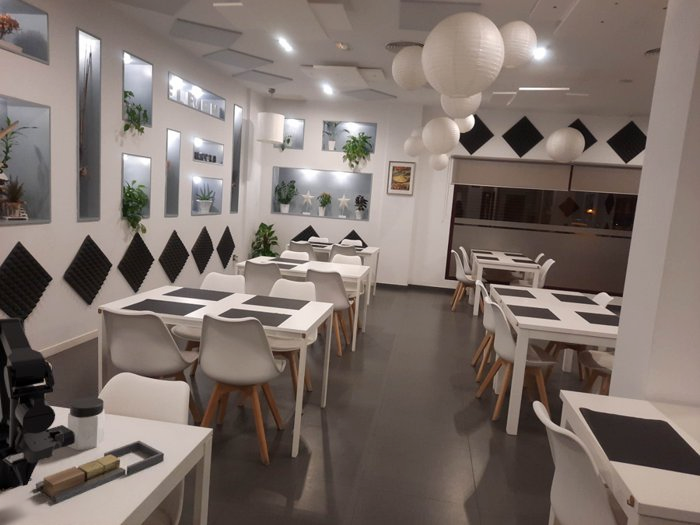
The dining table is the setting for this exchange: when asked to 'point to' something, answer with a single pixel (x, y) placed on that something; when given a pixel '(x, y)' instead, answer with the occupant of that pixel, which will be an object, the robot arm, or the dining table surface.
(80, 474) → the tan wooden brick
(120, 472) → the rail bed
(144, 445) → the tray
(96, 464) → the olive wooden block
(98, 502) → the dining table surface
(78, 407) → the jar
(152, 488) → the dining table surface
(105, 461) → the tan wooden block
